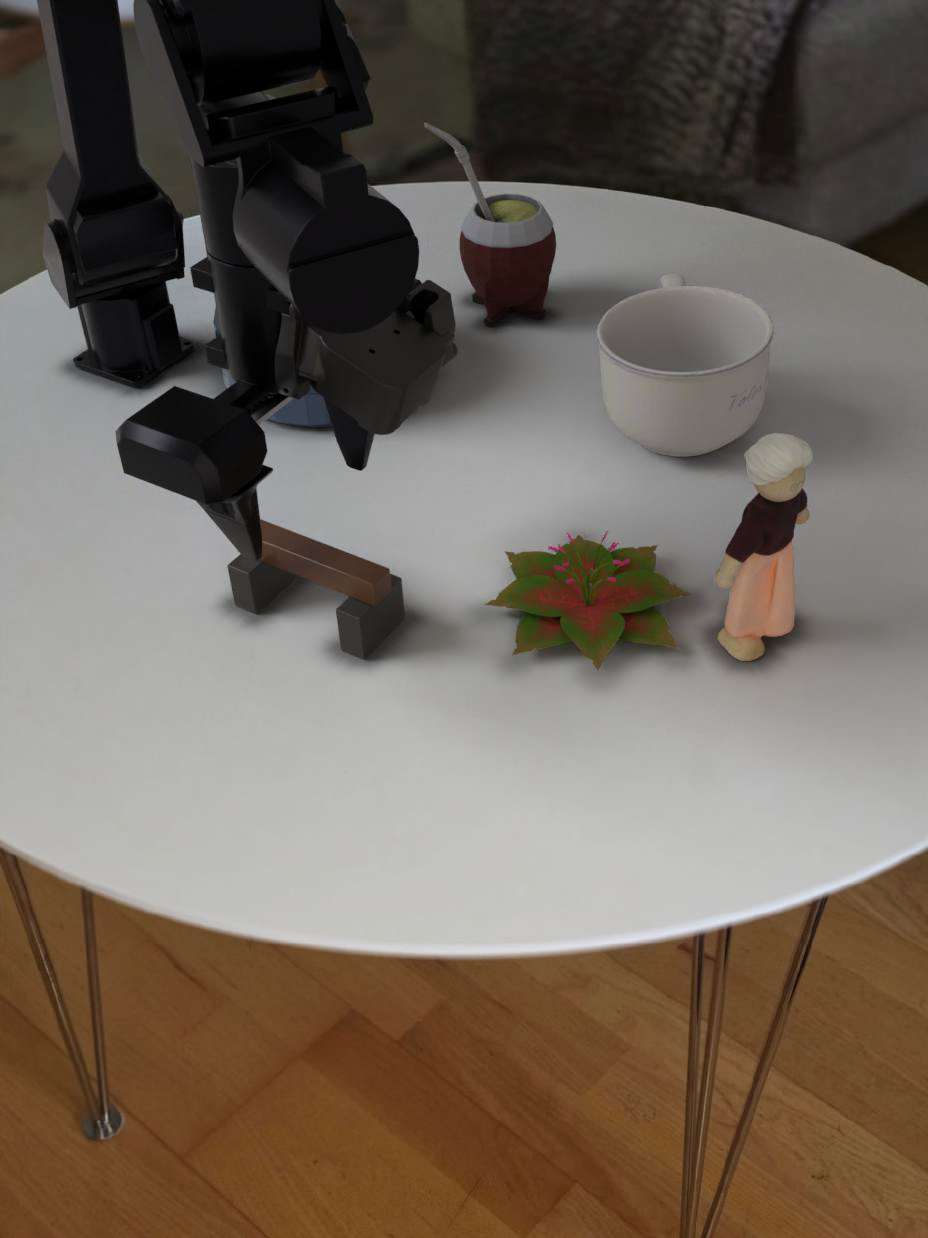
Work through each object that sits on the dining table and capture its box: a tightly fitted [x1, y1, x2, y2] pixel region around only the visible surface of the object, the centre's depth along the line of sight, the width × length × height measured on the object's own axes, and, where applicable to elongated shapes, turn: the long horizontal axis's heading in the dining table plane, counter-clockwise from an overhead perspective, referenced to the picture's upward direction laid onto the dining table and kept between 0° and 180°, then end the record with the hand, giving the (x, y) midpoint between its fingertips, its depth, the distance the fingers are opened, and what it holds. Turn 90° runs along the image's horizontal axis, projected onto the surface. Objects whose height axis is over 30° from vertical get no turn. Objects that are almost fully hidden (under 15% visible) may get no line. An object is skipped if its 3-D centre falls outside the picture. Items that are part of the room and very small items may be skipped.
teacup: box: [596, 272, 775, 458], centre depth 89 cm, size 14×11×8 cm
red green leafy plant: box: [483, 530, 692, 672], centre depth 76 cm, size 12×12×5 cm
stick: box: [237, 518, 392, 606], centre depth 75 cm, size 10×2×2 cm, turn 57°
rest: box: [226, 553, 406, 660], centre depth 77 cm, size 9×4×3 cm, turn 57°
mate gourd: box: [423, 122, 557, 328], centre depth 98 cm, size 8×8×15 cm
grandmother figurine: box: [714, 432, 814, 662], centre depth 71 cm, size 8×4×13 cm, turn 148°
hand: (306, 510), depth 73 cm, fingers open, 9 cm apart
